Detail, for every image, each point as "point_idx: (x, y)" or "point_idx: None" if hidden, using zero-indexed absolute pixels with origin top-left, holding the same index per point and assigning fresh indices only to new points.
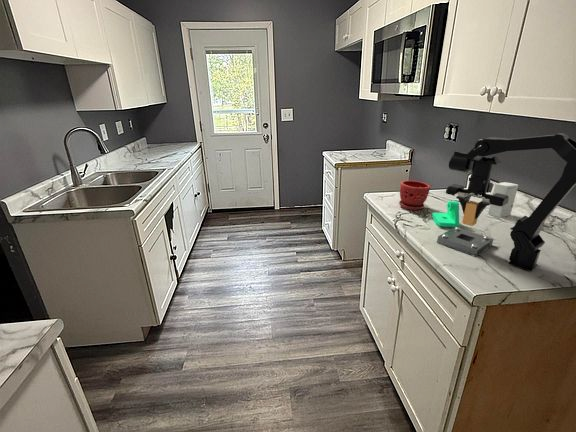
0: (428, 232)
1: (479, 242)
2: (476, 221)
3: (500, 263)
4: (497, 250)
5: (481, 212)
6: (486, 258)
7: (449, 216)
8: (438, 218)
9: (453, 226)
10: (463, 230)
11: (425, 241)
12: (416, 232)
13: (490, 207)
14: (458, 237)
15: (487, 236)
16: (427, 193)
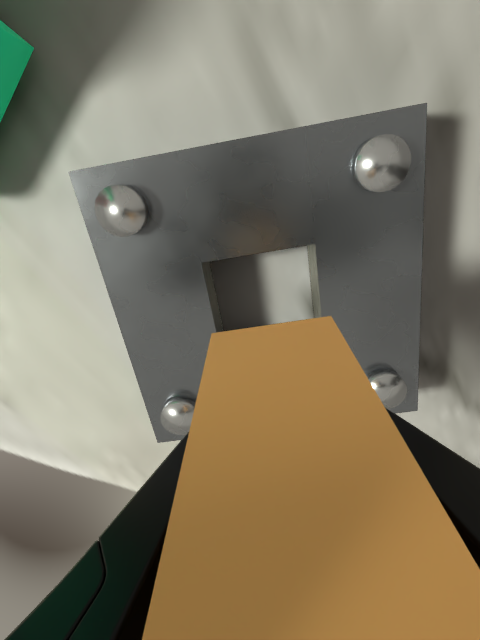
0: (29, 341)
1: (374, 295)
2: (339, 337)
3: None
4: (463, 179)
5: (470, 473)
6: (448, 355)
7: None
8: None
9: (10, 93)
10: (162, 182)
11: (130, 450)
12: (6, 402)
13: None
14: (213, 303)
15: (383, 143)
16: None
